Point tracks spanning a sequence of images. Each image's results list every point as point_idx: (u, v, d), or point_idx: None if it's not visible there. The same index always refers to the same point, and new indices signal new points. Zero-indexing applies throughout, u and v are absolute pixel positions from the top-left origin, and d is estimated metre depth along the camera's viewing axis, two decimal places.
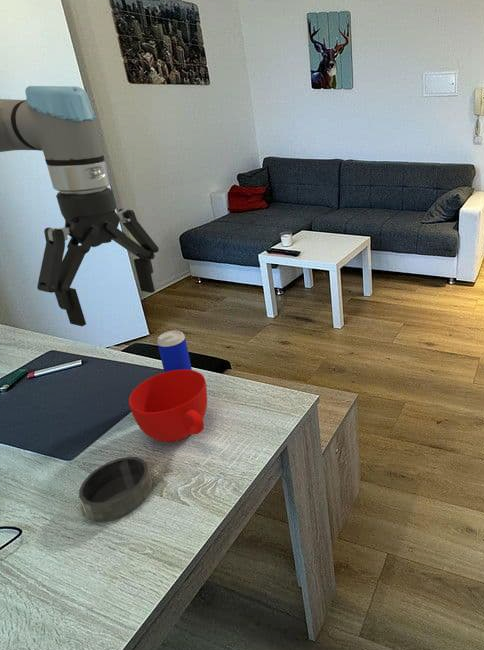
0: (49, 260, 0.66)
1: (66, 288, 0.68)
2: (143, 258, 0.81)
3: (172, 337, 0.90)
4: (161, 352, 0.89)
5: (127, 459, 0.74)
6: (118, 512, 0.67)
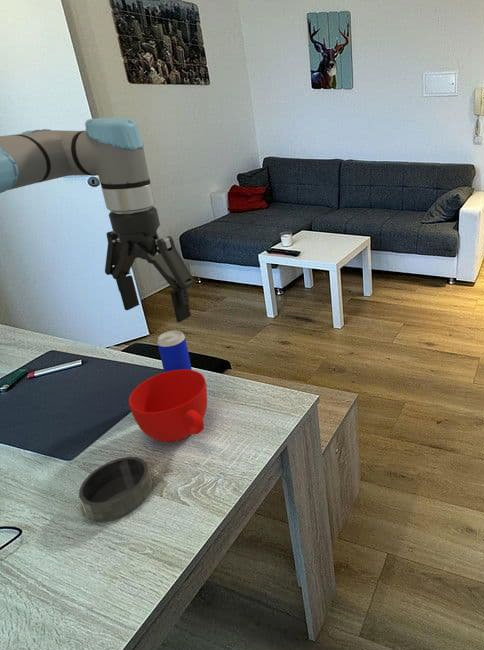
0: (178, 262, 0.79)
1: None
2: (125, 275, 0.86)
3: (172, 337, 0.90)
4: (161, 352, 0.89)
5: (127, 459, 0.74)
6: (118, 512, 0.67)
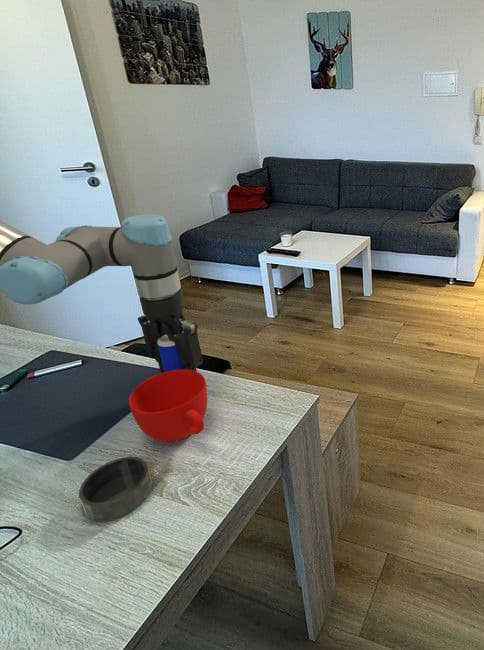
0: (196, 345, 0.89)
1: None
2: None
3: None
4: (161, 352, 0.89)
5: (127, 459, 0.74)
6: (118, 512, 0.67)
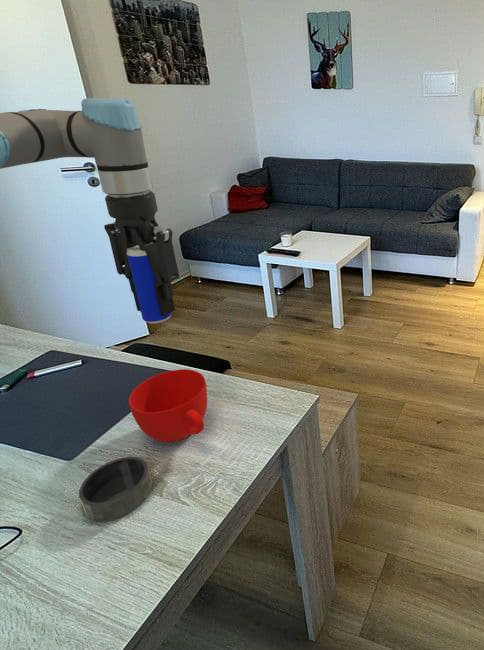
0: (170, 256, 0.78)
1: None
2: None
3: None
4: (131, 263, 0.78)
5: (127, 459, 0.74)
6: (118, 512, 0.67)
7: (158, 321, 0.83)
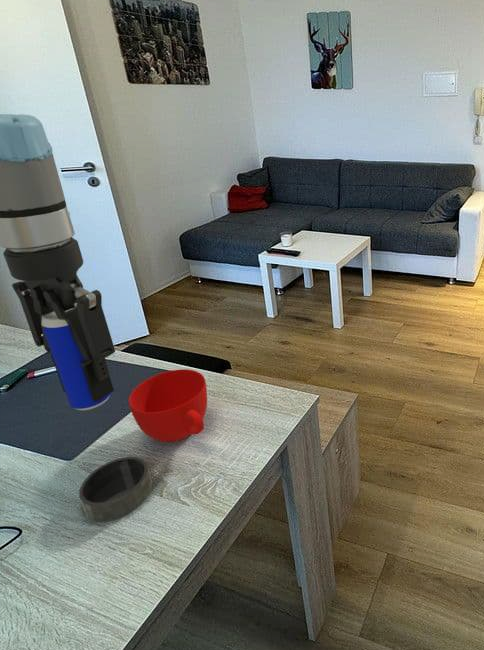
0: (100, 326, 0.58)
1: None
2: None
3: None
4: (47, 336, 0.58)
5: (127, 459, 0.74)
6: (118, 512, 0.67)
7: (90, 407, 0.62)
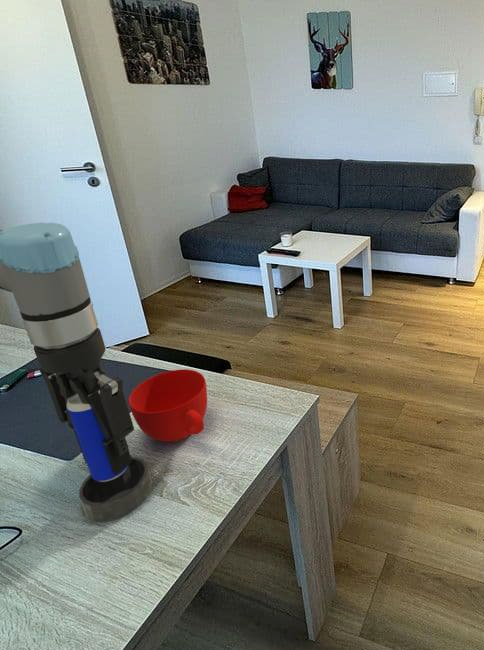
0: (121, 409, 0.62)
1: None
2: None
3: None
4: (72, 418, 0.62)
5: None
6: (118, 512, 0.67)
7: (110, 479, 0.67)
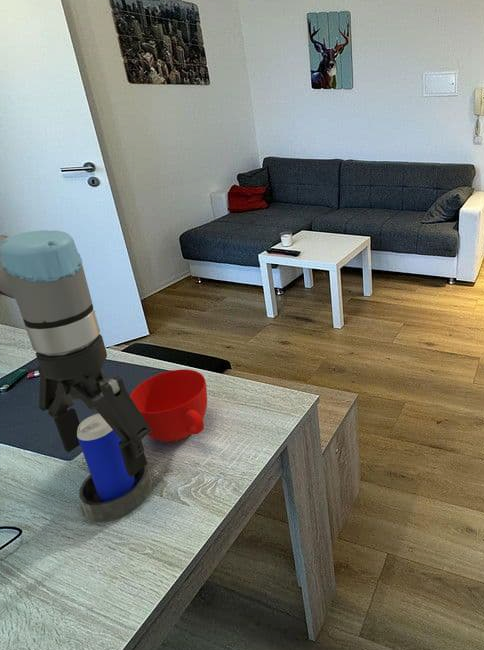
0: (129, 408, 0.61)
1: None
2: (65, 410, 0.68)
3: (98, 425, 0.65)
4: (82, 447, 0.64)
5: None
6: (118, 512, 0.67)
7: None
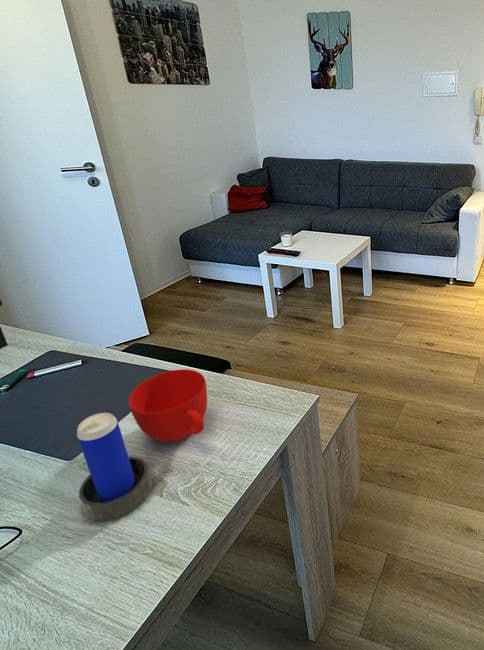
0: None
1: None
2: None
3: (98, 425, 0.65)
4: (82, 447, 0.64)
5: None
6: (118, 512, 0.67)
7: None
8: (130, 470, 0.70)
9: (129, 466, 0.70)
